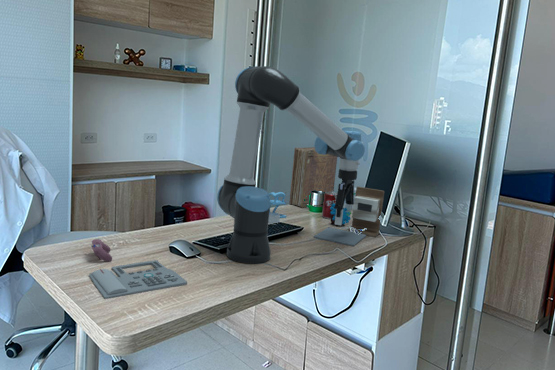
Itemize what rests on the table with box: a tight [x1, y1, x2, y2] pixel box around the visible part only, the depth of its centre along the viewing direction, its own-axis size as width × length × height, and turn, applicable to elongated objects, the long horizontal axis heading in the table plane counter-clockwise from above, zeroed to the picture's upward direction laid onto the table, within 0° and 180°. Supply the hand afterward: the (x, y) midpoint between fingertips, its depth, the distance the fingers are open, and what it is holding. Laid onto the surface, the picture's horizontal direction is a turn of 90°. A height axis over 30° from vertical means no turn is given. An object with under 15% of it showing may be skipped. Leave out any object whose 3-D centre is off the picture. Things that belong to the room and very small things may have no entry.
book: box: [288, 146, 338, 209], centre depth 252 cm, size 25×9×30 cm, turn 136°
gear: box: [330, 203, 352, 225], centre depth 197 cm, size 11×6×10 cm
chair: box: [268, 191, 287, 219], centre depth 221 cm, size 8×8×12 cm
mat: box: [313, 226, 367, 247], centre depth 197 cm, size 18×17×1 cm
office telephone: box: [89, 259, 188, 300], centre depth 137 cm, size 23×3×20 cm
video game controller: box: [91, 238, 113, 262], centre depth 150 cm, size 10×5×7 cm, turn 23°
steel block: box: [268, 211, 281, 225], centre depth 210 cm, size 5×5×4 cm
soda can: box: [321, 191, 338, 220], centre depth 227 cm, size 7×7×12 cm
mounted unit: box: [347, 186, 385, 238], centre depth 205 cm, size 8×12×19 cm, turn 64°
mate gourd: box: [330, 191, 345, 228], centre depth 215 cm, size 8×8×15 cm
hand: (342, 222), depth 196 cm, fingers closed on gear, 10 cm apart
